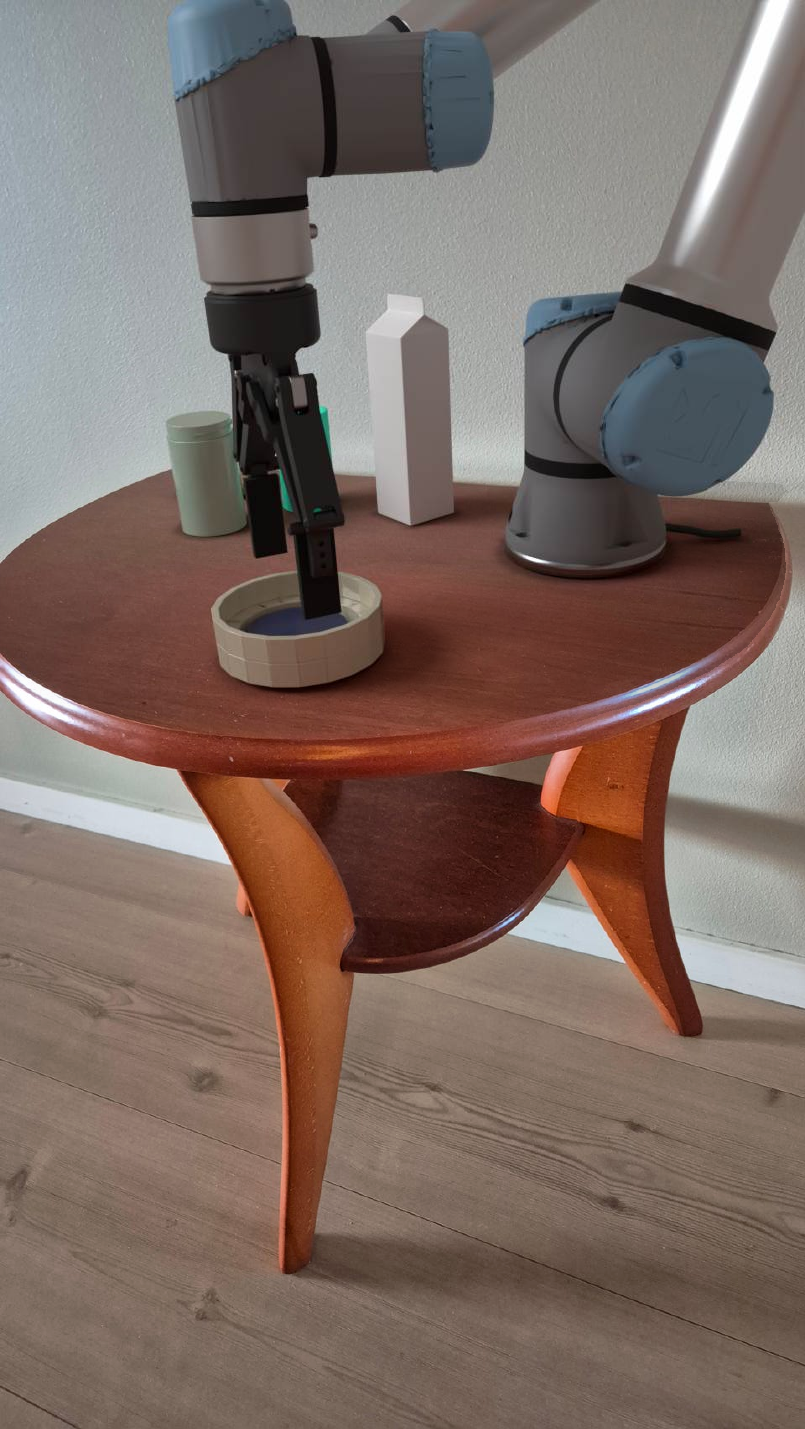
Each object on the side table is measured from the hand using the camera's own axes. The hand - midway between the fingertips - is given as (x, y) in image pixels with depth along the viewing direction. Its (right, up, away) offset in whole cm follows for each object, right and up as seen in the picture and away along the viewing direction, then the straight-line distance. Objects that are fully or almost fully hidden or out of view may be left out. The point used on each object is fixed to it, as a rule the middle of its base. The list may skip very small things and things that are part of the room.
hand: (294, 582), depth 76 cm
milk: (+10, +12, +31) cm, 35 cm away
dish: (0, -5, +3) cm, 6 cm away
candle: (-2, +14, +36) cm, 39 cm away
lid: (0, -4, +2) cm, 4 cm away
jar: (-12, +10, +31) cm, 35 cm away
